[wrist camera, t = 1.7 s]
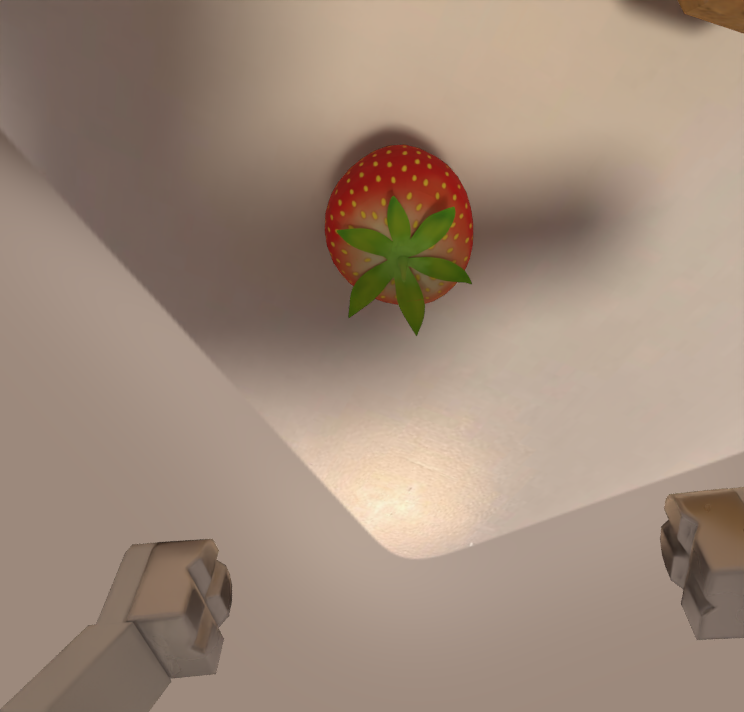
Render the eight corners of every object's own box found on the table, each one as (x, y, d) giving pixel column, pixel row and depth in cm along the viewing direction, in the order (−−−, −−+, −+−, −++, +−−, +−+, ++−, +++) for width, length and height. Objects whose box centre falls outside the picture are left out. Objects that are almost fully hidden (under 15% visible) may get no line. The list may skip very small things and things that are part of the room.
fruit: (306, 179, 26) (279, 272, 19) (404, 88, 24) (411, 158, 17) (394, 268, 28) (396, 379, 21) (490, 192, 26) (526, 289, 19)
